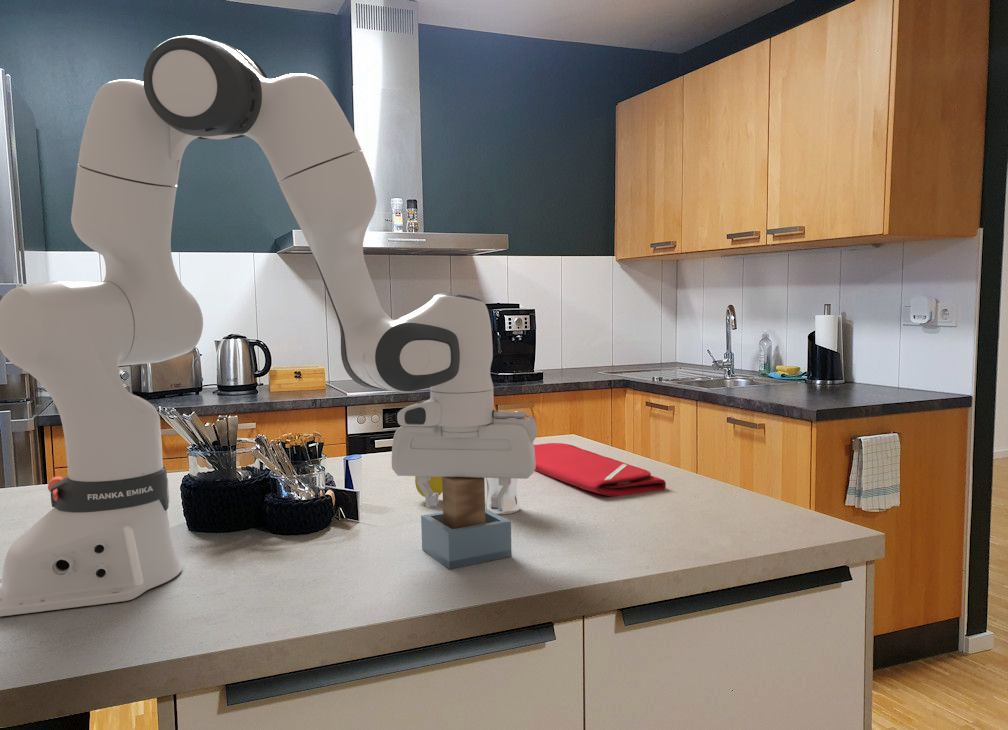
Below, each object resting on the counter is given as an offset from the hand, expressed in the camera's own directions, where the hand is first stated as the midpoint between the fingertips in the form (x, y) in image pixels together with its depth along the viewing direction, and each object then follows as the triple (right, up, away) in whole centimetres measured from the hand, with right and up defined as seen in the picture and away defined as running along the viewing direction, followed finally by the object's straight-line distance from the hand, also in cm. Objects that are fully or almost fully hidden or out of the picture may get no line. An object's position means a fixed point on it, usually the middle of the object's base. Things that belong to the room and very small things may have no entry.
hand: (464, 507), depth 107 cm
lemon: (-8, -5, +29) cm, 31 cm away
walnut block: (0, -6, 0) cm, 6 cm away
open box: (0, -7, +1) cm, 7 cm away
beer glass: (+5, -5, +23) cm, 24 cm away
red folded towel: (+21, -3, +50) cm, 54 cm away
